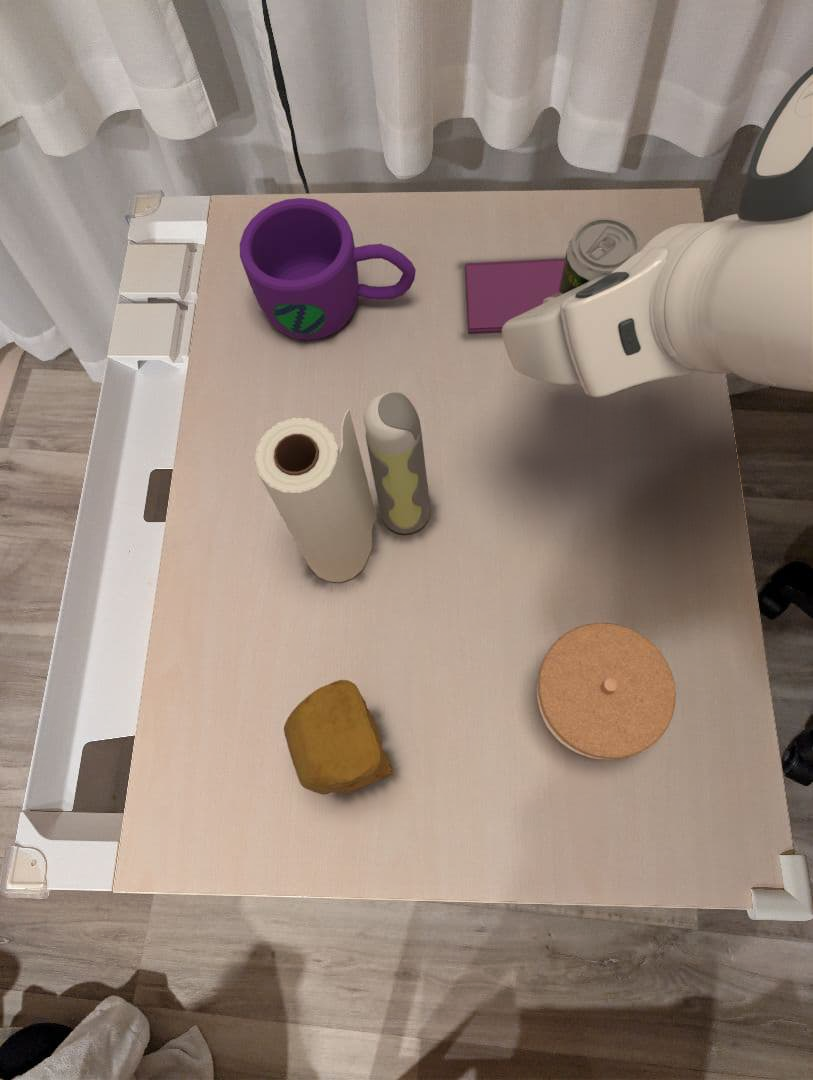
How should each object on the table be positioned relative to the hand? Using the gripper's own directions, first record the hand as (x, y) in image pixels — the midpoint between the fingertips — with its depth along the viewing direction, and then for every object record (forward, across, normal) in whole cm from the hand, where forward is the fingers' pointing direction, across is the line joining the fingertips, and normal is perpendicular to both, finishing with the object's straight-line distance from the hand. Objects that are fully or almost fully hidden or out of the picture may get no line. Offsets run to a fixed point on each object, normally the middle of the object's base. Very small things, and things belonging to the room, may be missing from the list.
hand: (587, 289), depth 61 cm
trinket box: (-6, +13, +32) cm, 35 cm away
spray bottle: (+12, +19, +15) cm, 27 cm away
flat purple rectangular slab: (+22, -5, +4) cm, 23 cm away
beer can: (+4, 0, +5) cm, 7 cm away
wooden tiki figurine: (-1, +34, +28) cm, 44 cm away
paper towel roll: (+11, +26, +16) cm, 32 cm away
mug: (+30, +14, -3) cm, 33 cm away
